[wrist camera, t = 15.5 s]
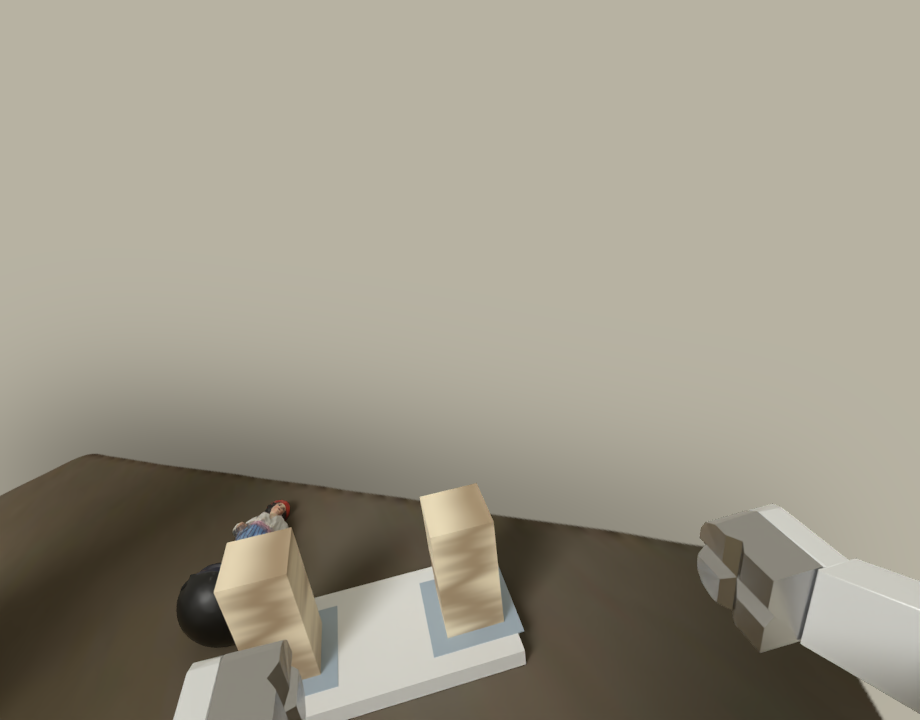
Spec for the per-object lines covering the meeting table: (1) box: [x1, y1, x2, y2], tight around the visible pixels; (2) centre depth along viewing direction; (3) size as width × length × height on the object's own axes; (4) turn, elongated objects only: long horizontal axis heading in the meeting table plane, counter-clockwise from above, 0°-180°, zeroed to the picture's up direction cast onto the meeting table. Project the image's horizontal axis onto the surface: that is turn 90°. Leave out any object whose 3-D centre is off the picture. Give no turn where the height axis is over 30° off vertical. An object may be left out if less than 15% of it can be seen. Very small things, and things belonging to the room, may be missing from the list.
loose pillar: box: [420, 483, 504, 638], centre depth 38 cm, size 4×4×10 cm
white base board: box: [302, 566, 526, 720], centre depth 40 cm, size 21×10×2 cm, turn 104°
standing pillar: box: [214, 527, 322, 680], centre depth 36 cm, size 4×4×10 cm
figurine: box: [177, 500, 290, 647], centre depth 47 cm, size 8×7×18 cm
